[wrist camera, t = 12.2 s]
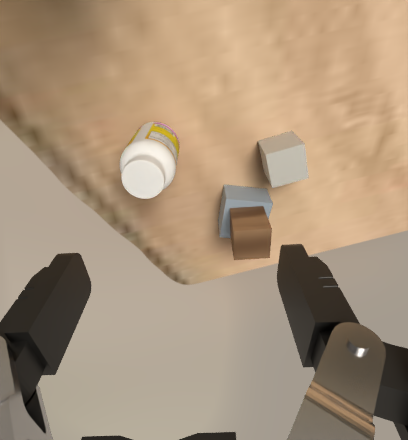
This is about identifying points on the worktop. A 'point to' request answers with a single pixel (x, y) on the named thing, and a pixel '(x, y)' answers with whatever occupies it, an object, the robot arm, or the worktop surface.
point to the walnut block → (250, 233)
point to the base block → (240, 204)
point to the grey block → (283, 159)
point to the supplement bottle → (149, 160)
